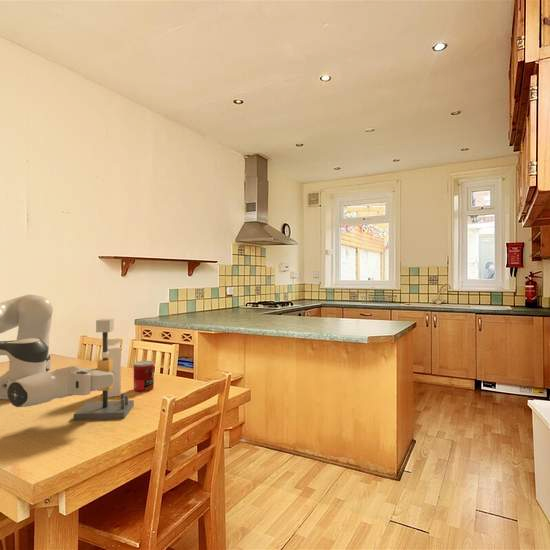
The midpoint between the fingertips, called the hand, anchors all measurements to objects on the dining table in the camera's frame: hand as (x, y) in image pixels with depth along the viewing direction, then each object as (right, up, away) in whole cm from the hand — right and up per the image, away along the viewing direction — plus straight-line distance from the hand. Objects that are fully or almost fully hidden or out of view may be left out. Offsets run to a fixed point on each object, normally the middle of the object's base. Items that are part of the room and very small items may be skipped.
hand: (107, 371), depth 134 cm
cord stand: (0, -14, -1) cm, 14 cm away
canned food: (+4, -14, +26) cm, 30 cm away
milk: (-7, -14, +19) cm, 24 cm away
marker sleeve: (0, -6, -1) cm, 6 cm away
